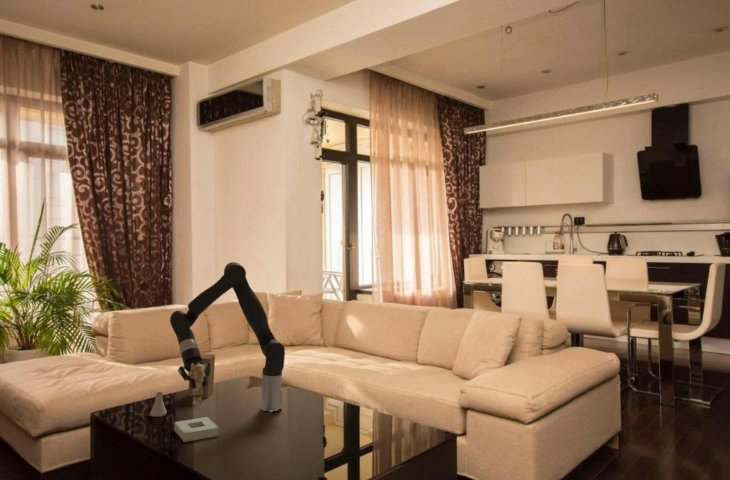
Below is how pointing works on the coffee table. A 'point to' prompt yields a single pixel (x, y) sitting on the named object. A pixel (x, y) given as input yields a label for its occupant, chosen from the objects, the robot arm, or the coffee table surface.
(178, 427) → the white flat square block
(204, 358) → the wooden block
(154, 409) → the flask
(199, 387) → the peg
